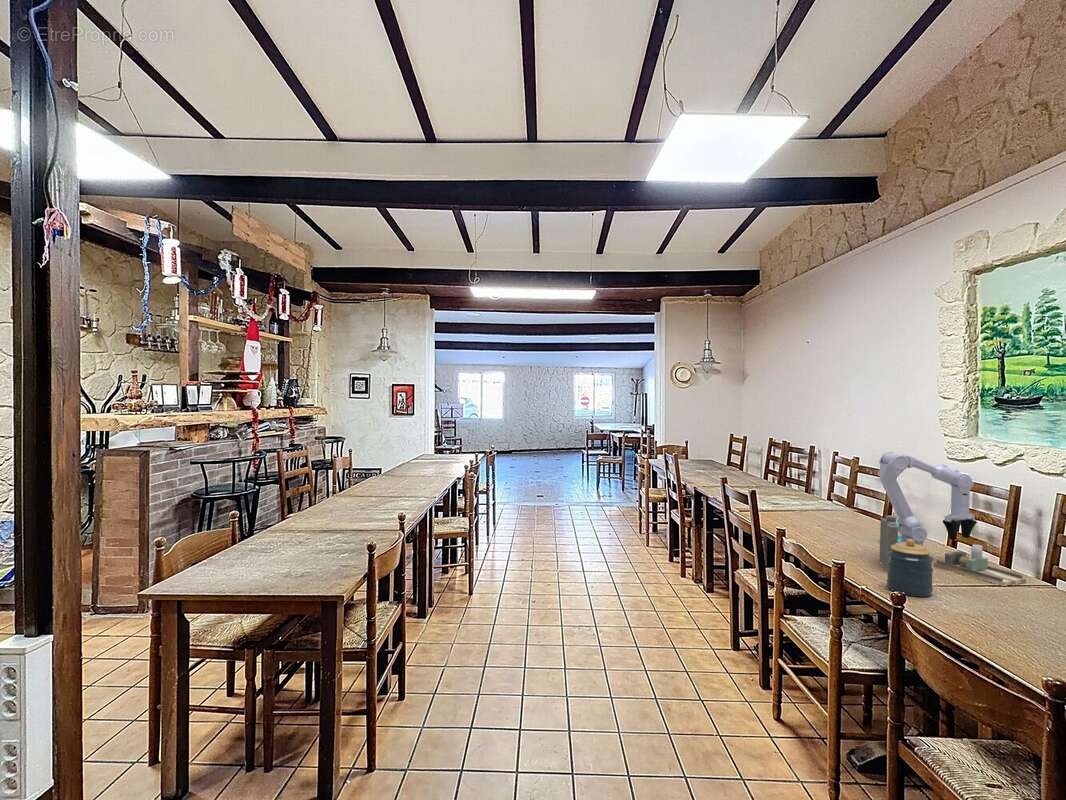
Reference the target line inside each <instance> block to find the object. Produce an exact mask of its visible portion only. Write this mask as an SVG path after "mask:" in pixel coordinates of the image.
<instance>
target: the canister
mask: <svg viewBox="0 0 1066 800" xmlns="http://www.w3.org/2000/svg"><path fill="white" fill-rule="evenodd" d="M891 549H892V550H891V551H889V552H888V553H887V554H888V555H889V561H888V562H887V564H888V573H887V578H886V585H887V588H888V589H889V590H890V589H893V590H894V591H899V592H904V593H905V594H906V595H905V596H909V597H916V596H921V597H920V598H926V596H928V597H930V596H932V592H933V590H934V589H933V588H934V587H933V571H934V568H933V566H932V563H934V558H933V557H932V556H931V555H930V554H931V550H929V549H927V547H925V546H924V545H923V546H921V545H918V544H915V541H914V540H913V539H907V540H906V543H903V542H900V543H896V544H894V545H891ZM894 591H893V592H894ZM910 595H911V596H910Z"/></svg>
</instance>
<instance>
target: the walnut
mask: <svg viewBox="0 0 1066 800" xmlns="http://www.w3.org/2000/svg"><path fill="white" fill-rule="evenodd" d="M966 559H971V557H969V556H967V555H966V556H962V557H960V558H959V563H960V564H961V565H962V566H964V567H966Z"/></svg>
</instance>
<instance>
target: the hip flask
mask: <svg viewBox="0 0 1066 800" xmlns="http://www.w3.org/2000/svg"><path fill="white" fill-rule="evenodd" d="M896 520H898V516H897V515H896V516H894V515H885V518H884V517H880V525H879V526H880V527H879V528H880V530H879V533H880V534H879V563H880V562H881V563H882V564H883V565H884V566H885V567H886V568H885V567H884V568H885V570H886V569H887V570H886V573H887V572H888V564H887V562H888V561H889V555H888V554H887V553H888V552H889V551H891V550H892V549H891V545H894V544H896V543H898V536H899V531H898V525H897V524H896ZM881 563H880V564H881ZM882 564H881V565H882ZM883 565H882V566H883Z"/></svg>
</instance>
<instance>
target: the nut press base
mask: <svg viewBox="0 0 1066 800" xmlns="http://www.w3.org/2000/svg"><path fill="white" fill-rule="evenodd" d="M962 556H967V553H966V552H964V551H954V552H946V553H945V552H944V560H942V561H941V560H936V561H933V567H935V566H936V567H935V568H938V567H940V568H939V569H941V568H943V569H942V570H945V569H946V571H948V570H950V571H949V572H952V571H954V572H953V573H955V572H957V573H956V574H958V573H961V574H960V575H962V574H965V575H968V576H967V577H969V576H972V577H976V578H979V579H982V580H986V581H989V582H992V583H991V584H993V583H995V584H994V585H996V584H998V585H997V586H999V585H1001V586H1000V587H1003V586H1006V587H1008V586H1007V585H1012V586H1014V585H1013V584H1018V583H1024V584H1026V583H1027V579H1026V578H1024V577H1023V575H1022V574H1018V573H1016V572H1011V571H1008V570H1005V569H1000V568H996V567H993V566H989V565H988V569H985V570H978V571H974V570H971V569H967V568H966V567H964V566H962V565H961V564H960V563H959V558H960V557H962ZM965 575H964V576H965ZM972 577H971V578H972ZM976 578H975V579H976ZM979 579H978V580H979ZM982 580H981V581H982ZM986 581H985V582H986ZM989 582H988V583H989ZM1018 585H1019V584H1018Z"/></svg>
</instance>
